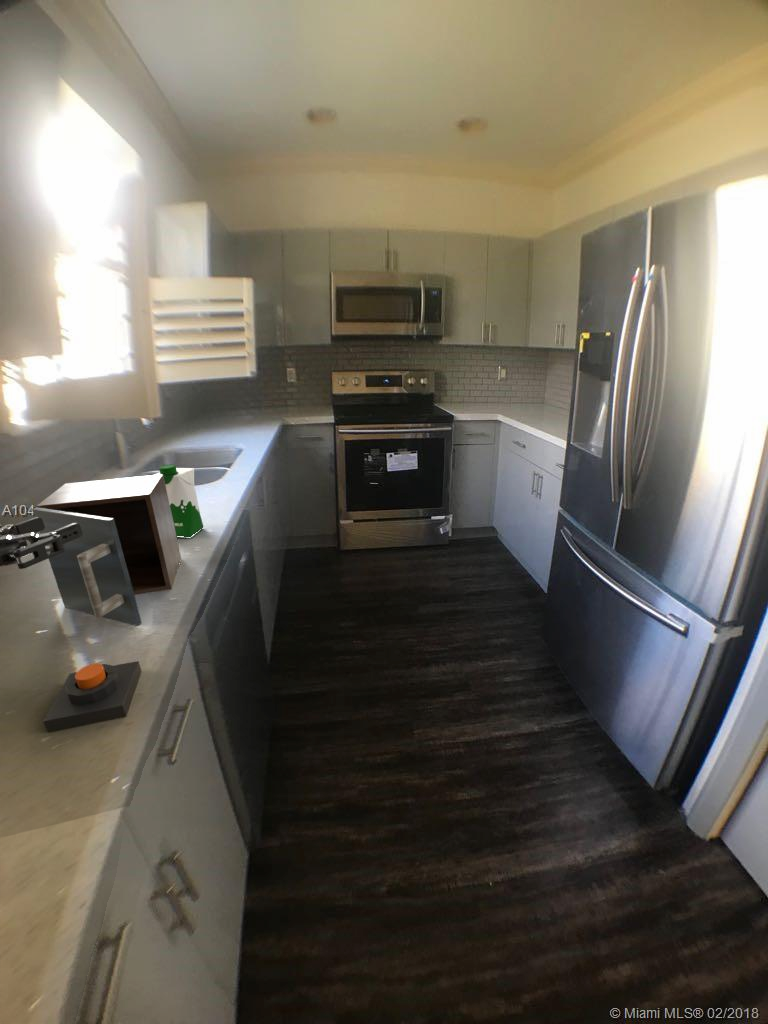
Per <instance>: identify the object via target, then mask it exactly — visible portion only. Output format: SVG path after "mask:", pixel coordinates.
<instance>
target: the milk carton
mask: <svg viewBox="0 0 768 1024" xmlns="http://www.w3.org/2000/svg"><path fill="white" fill-rule="evenodd" d="M158 470H159V472H157V473H154V475H160V474H163V476H164V481H165V485H166V490H167V495H168V499H169V504H170V508H171V513H172V518H173V522H174V527H175V532H176V536H184V537H191V536H192V535H193V534H195V533H196V532H198V531H199V530H200V529H202V528H203V527H204V528H205V526H204V523H203V519H202V516H201V512H200V507H199V501H198V496H197V492H196V487H195V468H194V467H177V466H176V464H173V463H172V464H163V465H161V466H159V467H158Z"/></svg>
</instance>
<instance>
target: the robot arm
mask: <svg viewBox="0 0 768 1024" xmlns="http://www.w3.org/2000/svg"><path fill="white" fill-rule="evenodd" d="M44 529H45V526H44V523H43V520H42V518H40V517H31V518H29V519H26V520H23V521H20V522H17V523H15V524H13V523H12V524H11V523H9V524H5V525H4V526H2V524H0V567H5V566H11V565H17V567H18V569H19V570H23V569H26V568H29V567H31V566H34V565H36V564H39V563H41V562H44V561H46V560H49V559H48V558H51V557H53V556H56V555H58V554H60V553H63V552H65V549H64V547H63V544H65V543H67V542H69V541H72V540H74V539H76V538H79V537H81V536H82V530H81V527H80V524H78V523H72V524H70V525H67V526H65V527H62V528H59V529H57V530H54V531H52V532H49V533H44V534H40V531H42V530H44ZM38 533H39V534H38ZM28 542H29V543H30V544H28ZM48 544H49V546H46V545H48ZM48 551H49V552H48Z"/></svg>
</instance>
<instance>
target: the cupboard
mask: <svg viewBox="0 0 768 1024" xmlns="http://www.w3.org/2000/svg"><path fill="white" fill-rule="evenodd" d="M37 507H38V508H45V509H52V510H58V511H65V512H72V513H79V514H86V515H93V516H100V517H107V518H113V519H114V521H115V525H116V528H117V532H118V536H119V540H120V543H121V547H122V551H123V555H124V558H125V562H126V566H127V570H128V573H129V577H130V581H131V585H132V588H133V592H134V596H135V595H143V594H150V593H157V592H163V591H169V590H173V587H174V584H175V581H174V580H176V578H175V577H177V575H176V574H178V571H179V568H180V565H179V563H180V564H181V562H180V560H181V561H182V556H181V551H180V550H181V549H180V546H179V542H178V538H177V536H176V532H175V527H174V522H173V518H172V513H171V508H170V504H169V499H168V495H167V490H166V485H165V481H164V476H163V474H160V475H155V474H152V475H139V476H131V477H130V476H129V477H119V478H109V479H100V480H89V481H88V480H87V481H79V482H77V481H76V482H68V483H64V484H63V485H62V486H60V487H59V488H58V489H56V490H55V491H54V492H53V493H51V494H50V495H49V496H47V497H45V498H44V500H42V501H41V502H40V503H38V504H37V505H36V506H35V508H37ZM178 567H179V568H178ZM177 570H178V571H177Z"/></svg>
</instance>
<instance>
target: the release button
mask: <svg viewBox="0 0 768 1024" xmlns="http://www.w3.org/2000/svg"><path fill="white" fill-rule="evenodd" d="M105 678H106V674H105V671H104V668H103V666H102V664H101V663H90V664H88V665H85V666H83V667H81V668H80V669H79V670H77V673H76V675H75V679H76V682H77V685H78V687H79V688H80V689H89V688H92V687H95V686H97V685H99V684H100V683H102V682H103V681H104V680H105Z"/></svg>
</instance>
